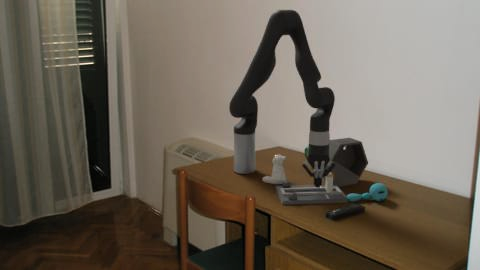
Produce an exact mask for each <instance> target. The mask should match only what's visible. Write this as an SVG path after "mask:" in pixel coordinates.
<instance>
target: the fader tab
mask: <svg viewBox="0 0 480 270" xmlns="http://www.w3.org/2000/svg"><path fill="white" fill-rule="evenodd" d="M333 176H334V175H333V174H332V173H329V174H328V175H327V176H326V182H325V181H324V183H325V184H324V185H325V189H326V191H333Z"/></svg>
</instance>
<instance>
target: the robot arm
mask: <svg viewBox="0 0 480 270" xmlns="http://www.w3.org/2000/svg"><path fill="white" fill-rule="evenodd" d="M283 36H289V37H290V39H291V41H292V43H293V45H294V54H295V55H294V56H295V57H294V62H295V63H294V64H295V68H296V70H297V72H298V75H299V77H300V79H301V81H302V85H303V91H304V92H303V93H304V97H305V101H306V103H307V104H308V106H310V108H313V109H316V110H315V112H314V113H313V114H312V115H311V116H310V120H309V134H308V146H309V150H308V157H307V158H306V160H305V161H303V162H301V164H300V165H301V166H302V168H303V169H304V170H305V172H306V173H307V174H308V175H309V177H310V178H313V185H314V186H315V187H316V188H320V186H321V185H323V177H324V176H327V175H328V174H329V173H330V171H331V170H332V169H333V168H334V167H335V163H334V162H332V161H330V158H329V142H330V140H331V139H330V138H331V137H330V120H331V116H332V113H333V110H334V106H335V101H336V98H335V93H334V91H333V89H331V87H327V86H324V87H319V82H320V81H321V80H322V75H321V72H320V70H319V67H318V65H317V63H316V61H315V59H314V57H313V54H312V52H311V48H310V45H309V42H308V41H309V40H308V39H307V38H308V37H307V35H306V31H305V27H304V24H303V20H302V18H301V16H300V14H299V12H297V11H296V10H293V9H277V10H275V11H274V12H272V14H271V15H270V16H269V19H268V21H267V24H266V26H265V29H264V33H263V36H262V38H261V41H260V43H259V45H258V47H257V50H256V52H255V54H254V55H253V57H252V59H251V62H250V63H249V66H248V69H247V71H246V73H245V75H244V77H243V79H242V81H241V83H240V84H239V86H238V88H237V89H236V91H235V92H234V94H233V96H232V98H230V99H231V100H230V102H229V105H228V106H229V107H228V109H229V113H230V116H231V117H234V118H237V119H240V121H239V122H237V123H236V124H235V125H234V127H233V172H235V173H237V174H242V175H247V174H252V173H255V172H256V129H257V125H258V113H259V107H258V106H259V105H258V101H257V98H256V97H255V96H254V94H255V93H256V92H257V91H258V90H260V88H261V87H262V86H263V85H265V84H266V82H268V80H269V79H270V78H271V75H272V74H273V71H274V70H275V67H276V64H277V59H276V58H277V57H276V48H277V46H278V43H279V42H280V39H282V37H283ZM327 164H328V166H327V168H326V169H325V170H324V168H325V167H326V165H327ZM309 165H310V167H311V168H312V171H311V170H310V168H309Z"/></svg>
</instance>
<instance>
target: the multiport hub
mask: <svg viewBox="0 0 480 270" xmlns="http://www.w3.org/2000/svg"><path fill="white" fill-rule="evenodd" d="M365 211H366V206H364V205H361V204H358V203H356V202H355V203H352V204H348V205H345V206H340V207H338V208H334V209H329V210H326V211H325V218H327V219H328V220H331V221H332V222H335V221H339V220H342V219H346V218H347V219H348V218H349V217H353V216H356V215H360V213H361V214H363V212H364V213H365Z"/></svg>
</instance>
